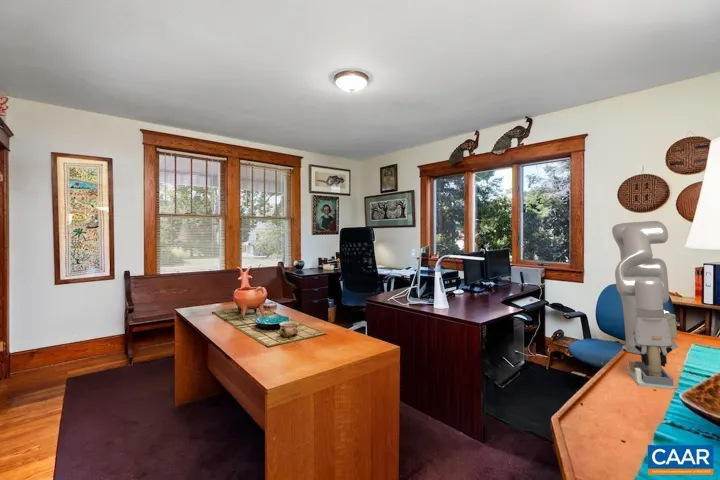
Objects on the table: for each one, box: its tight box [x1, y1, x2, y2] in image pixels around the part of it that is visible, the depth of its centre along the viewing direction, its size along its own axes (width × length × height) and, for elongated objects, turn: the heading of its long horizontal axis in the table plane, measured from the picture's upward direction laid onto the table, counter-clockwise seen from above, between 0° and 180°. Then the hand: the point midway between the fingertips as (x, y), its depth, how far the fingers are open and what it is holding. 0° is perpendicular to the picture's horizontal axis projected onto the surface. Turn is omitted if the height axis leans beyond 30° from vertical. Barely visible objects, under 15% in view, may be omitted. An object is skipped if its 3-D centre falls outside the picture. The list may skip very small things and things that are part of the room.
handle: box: [647, 336, 662, 377], centre depth 123 cm, size 5×6×15 cm
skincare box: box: [665, 312, 678, 339], centre depth 177 cm, size 6×4×12 cm
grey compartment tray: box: [626, 359, 675, 390], centre depth 127 cm, size 18×10×4 cm, turn 153°
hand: (654, 364), depth 123 cm, fingers closed on handle, 4 cm apart
